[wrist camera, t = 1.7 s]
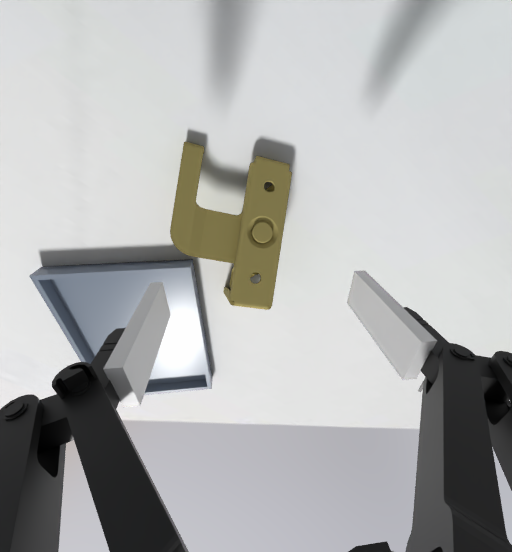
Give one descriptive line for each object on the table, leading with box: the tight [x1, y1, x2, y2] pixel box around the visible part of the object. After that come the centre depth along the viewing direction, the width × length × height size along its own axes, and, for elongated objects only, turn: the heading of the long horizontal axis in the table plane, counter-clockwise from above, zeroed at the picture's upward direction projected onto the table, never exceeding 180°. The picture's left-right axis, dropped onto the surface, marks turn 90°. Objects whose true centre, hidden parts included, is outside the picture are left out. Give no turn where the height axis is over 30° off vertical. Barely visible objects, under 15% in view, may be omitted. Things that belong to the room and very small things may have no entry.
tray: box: [30, 259, 212, 395], centre depth 33 cm, size 23×17×2 cm
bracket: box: [170, 142, 292, 310], centre depth 26 cm, size 10×14×10 cm
